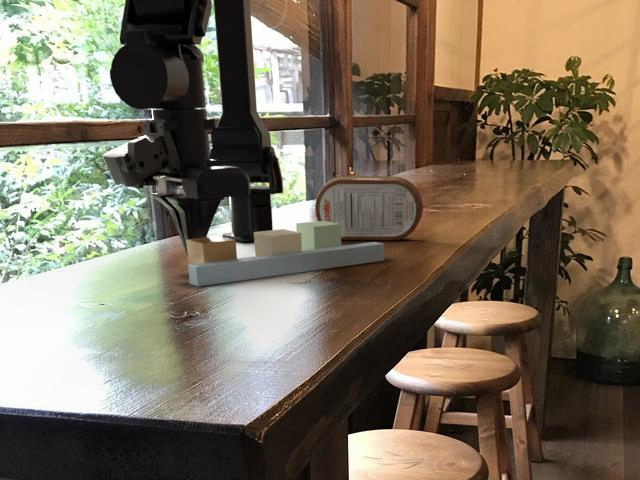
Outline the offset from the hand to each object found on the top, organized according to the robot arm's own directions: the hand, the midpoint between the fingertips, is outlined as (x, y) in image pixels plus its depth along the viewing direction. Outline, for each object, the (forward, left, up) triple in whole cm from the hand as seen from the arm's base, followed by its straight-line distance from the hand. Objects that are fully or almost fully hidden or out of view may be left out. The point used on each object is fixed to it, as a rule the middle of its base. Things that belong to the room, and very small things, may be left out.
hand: (193, 257), depth 93 cm
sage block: (+2, +16, -1) cm, 17 cm away
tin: (-6, +30, -2) cm, 30 cm away
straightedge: (+8, +8, -1) cm, 12 cm away
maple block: (+5, 0, -1) cm, 5 cm away
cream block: (+5, +8, -1) cm, 10 cm away
